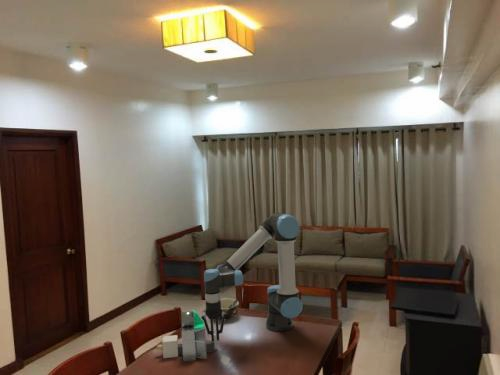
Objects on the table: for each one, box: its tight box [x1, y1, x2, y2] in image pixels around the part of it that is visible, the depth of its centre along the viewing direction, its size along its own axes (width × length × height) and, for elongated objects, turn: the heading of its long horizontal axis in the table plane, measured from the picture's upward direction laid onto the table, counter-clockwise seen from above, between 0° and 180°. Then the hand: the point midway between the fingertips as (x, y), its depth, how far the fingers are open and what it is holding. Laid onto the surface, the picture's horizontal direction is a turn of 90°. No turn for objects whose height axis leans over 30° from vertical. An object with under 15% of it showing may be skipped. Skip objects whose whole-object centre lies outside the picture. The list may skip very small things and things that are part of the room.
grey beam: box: [156, 334, 216, 359], centre depth 210 cm, size 28×7×8 cm, turn 98°
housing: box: [180, 310, 208, 362], centre depth 210 cm, size 11×19×20 cm, turn 8°
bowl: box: [218, 297, 240, 320], centre depth 255 cm, size 18×18×10 cm
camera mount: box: [191, 310, 205, 331], centre depth 238 cm, size 12×8×10 cm, turn 97°
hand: (215, 346), depth 212 cm, fingers closed
